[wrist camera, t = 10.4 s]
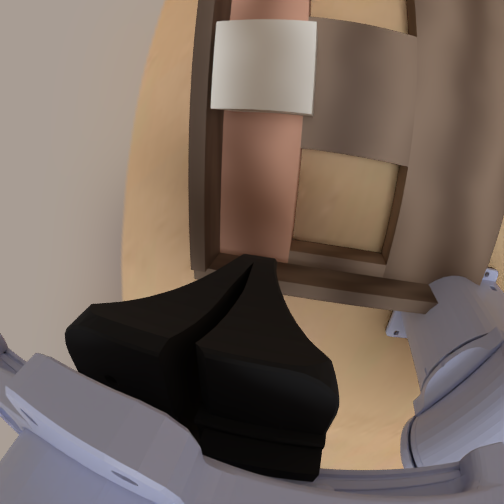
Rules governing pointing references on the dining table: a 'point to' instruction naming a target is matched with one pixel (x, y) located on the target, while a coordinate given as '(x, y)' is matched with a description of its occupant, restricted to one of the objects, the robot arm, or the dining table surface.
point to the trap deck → (360, 152)
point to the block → (265, 66)
